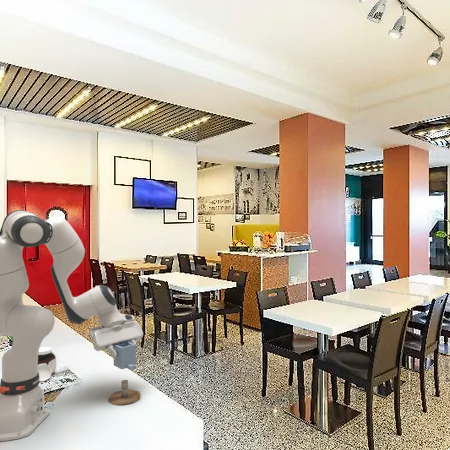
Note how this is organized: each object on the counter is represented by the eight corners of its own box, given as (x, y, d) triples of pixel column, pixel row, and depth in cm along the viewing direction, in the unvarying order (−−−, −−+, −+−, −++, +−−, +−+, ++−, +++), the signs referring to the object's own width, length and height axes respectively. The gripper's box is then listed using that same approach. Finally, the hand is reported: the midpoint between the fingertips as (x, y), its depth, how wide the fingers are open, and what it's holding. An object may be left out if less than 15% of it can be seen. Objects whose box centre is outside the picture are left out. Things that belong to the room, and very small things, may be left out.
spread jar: (48, 370, 177) (48, 344, 177) (64, 374, 171) (63, 348, 171) (23, 379, 166) (23, 352, 166) (39, 384, 161) (38, 356, 160)
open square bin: (113, 365, 148) (113, 344, 148) (127, 361, 152) (127, 341, 152) (126, 371, 141) (125, 350, 141) (140, 367, 146) (139, 346, 146)
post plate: (102, 398, 148) (102, 381, 148) (130, 388, 156) (130, 372, 156) (118, 408, 139) (118, 390, 139) (146, 397, 148) (146, 380, 148)
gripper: (90, 324, 145) (103, 356, 138) (137, 314, 160) (150, 343, 153) (85, 333, 148) (97, 365, 141) (131, 323, 163) (144, 351, 156)
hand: (125, 353), depth 147 cm, fingers closed on open square bin, 6 cm apart
